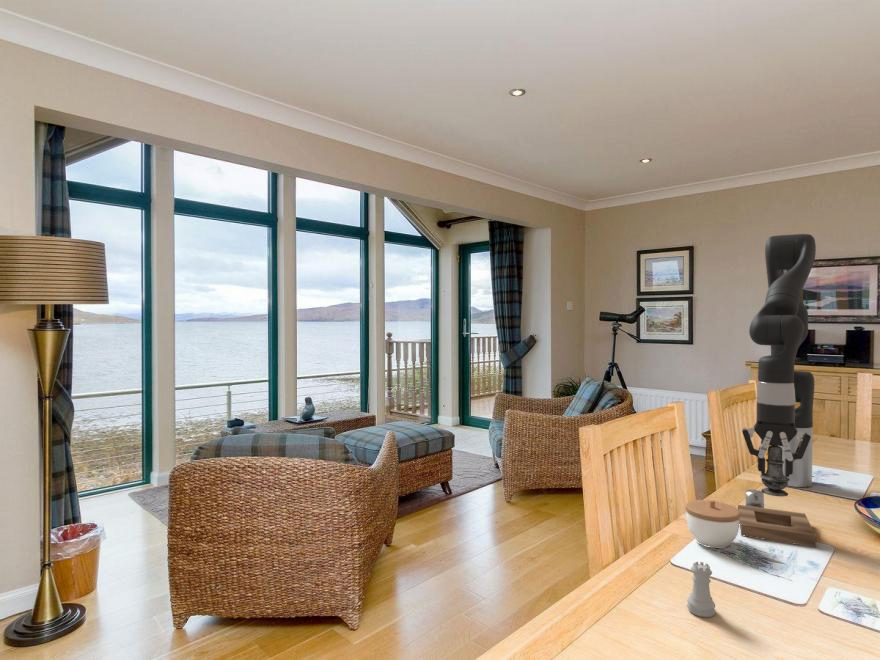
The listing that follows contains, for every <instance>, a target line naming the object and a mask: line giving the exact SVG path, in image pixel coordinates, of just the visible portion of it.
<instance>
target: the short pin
mask: <svg viewBox="0 0 880 660" xmlns="http://www.w3.org/2000/svg"><path fill="white" fill-rule="evenodd" d="M744 493H745V494H744V495H745V506H752V507H759V508H765V500H764V499H765V498H764V497H765V496H764V494H765V493H763V492H762V491H761V490H758V489H752V488H751V489H746V490H745V492H744Z"/></svg>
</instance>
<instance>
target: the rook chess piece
mask: <svg viewBox="0 0 880 660" xmlns="http://www.w3.org/2000/svg"><path fill="white" fill-rule="evenodd" d="M699 563H700V564H699ZM692 565H693V566H691V567H690V570H691V572H692V573H693V575H692V576H691V577H692V578H691V579H692V580H693V585H692V586H693V587H692V591H691V593H690V594H689V596H688V597H687V603H686V608H687V609H688V610H689V612H690V613H691V614H693V615H695V616H697V617H698V618H699V617H700V618H707V619H708V618H712V617H713V616H714V615H716V603H715V601H714V600H713V597H712V596H711V590H710V589H711V588H710V583H711V579H710V576H711V575H712V574H713V571H712V570H711V567H710V565H709V563H707V562H705V563H704V561H700V562H699V561H695V562H693V564H692Z"/></svg>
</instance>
